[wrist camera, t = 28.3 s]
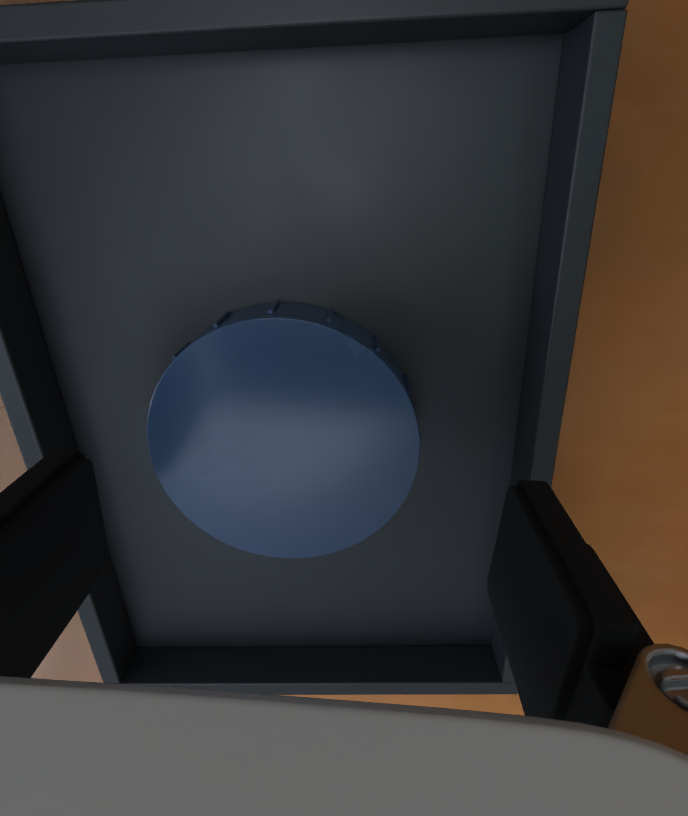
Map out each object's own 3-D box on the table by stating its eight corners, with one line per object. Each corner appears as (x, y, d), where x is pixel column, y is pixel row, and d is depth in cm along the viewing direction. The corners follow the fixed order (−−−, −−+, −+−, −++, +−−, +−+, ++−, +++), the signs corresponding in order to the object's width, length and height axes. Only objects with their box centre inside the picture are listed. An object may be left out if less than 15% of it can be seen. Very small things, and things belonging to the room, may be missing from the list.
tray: (500, 637, 18) (518, 695, 16) (134, 640, 19) (106, 695, 17) (580, 9, 11) (636, -35, 9) (-46, 45, 11) (-139, 12, 9)
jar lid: (168, 281, 12) (141, 295, 11) (439, 322, 13) (450, 340, 11) (169, 506, 15) (148, 542, 14) (389, 536, 16) (393, 574, 14)
